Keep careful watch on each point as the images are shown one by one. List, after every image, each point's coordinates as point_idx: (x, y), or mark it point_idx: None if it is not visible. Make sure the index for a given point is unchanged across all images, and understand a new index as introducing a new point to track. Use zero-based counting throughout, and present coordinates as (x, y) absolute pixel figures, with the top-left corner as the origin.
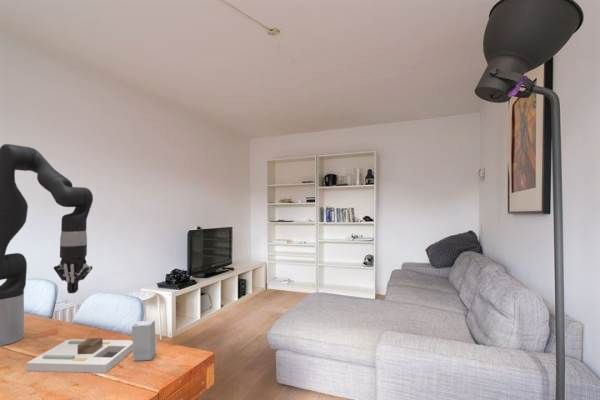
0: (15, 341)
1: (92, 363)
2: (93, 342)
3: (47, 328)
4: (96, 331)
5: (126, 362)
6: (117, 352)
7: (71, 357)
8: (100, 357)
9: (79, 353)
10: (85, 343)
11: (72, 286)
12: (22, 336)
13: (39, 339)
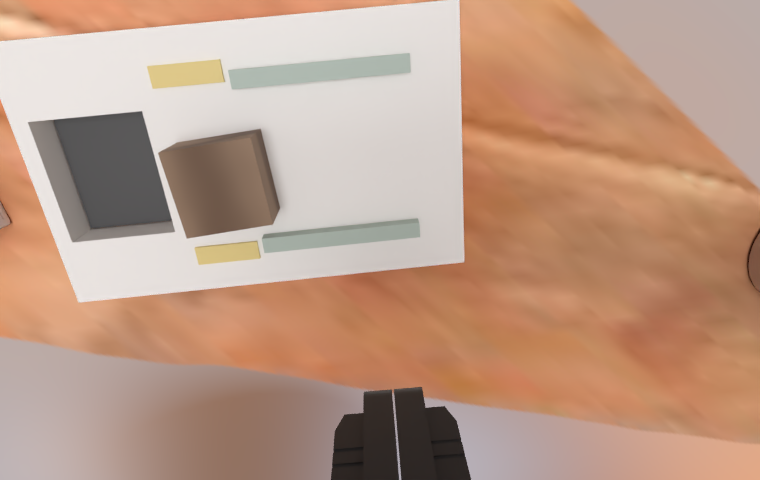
0: (757, 241)
1: (71, 46)
2: (185, 181)
3: (709, 373)
4: (443, 384)
5: (5, 151)
6: (136, 223)
7: (234, 70)
8: (94, 113)
9: (250, 131)
10: (222, 163)
11: (365, 472)
12: (757, 279)
13: (658, 281)
